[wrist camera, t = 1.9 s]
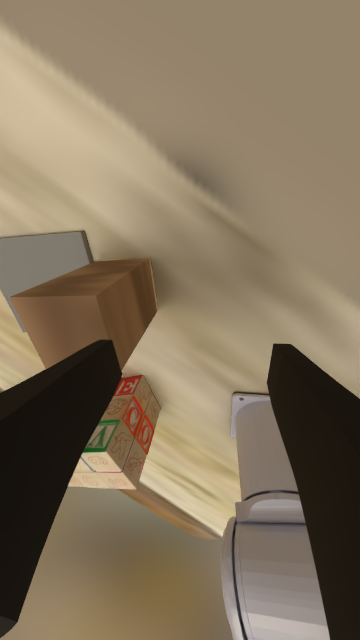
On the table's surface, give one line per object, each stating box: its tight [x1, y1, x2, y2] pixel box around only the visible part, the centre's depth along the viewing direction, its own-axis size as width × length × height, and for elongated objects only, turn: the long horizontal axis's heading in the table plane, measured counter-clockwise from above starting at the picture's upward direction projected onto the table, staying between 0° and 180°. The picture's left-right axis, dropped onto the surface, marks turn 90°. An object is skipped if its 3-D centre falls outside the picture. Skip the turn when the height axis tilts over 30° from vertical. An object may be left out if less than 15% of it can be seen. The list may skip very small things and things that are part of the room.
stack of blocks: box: [68, 375, 160, 489], centre depth 23 cm, size 21×6×12 cm, turn 109°
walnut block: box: [9, 257, 158, 371], centre depth 15 cm, size 5×5×9 cm
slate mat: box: [0, 231, 93, 332], centre depth 20 cm, size 11×10×1 cm
